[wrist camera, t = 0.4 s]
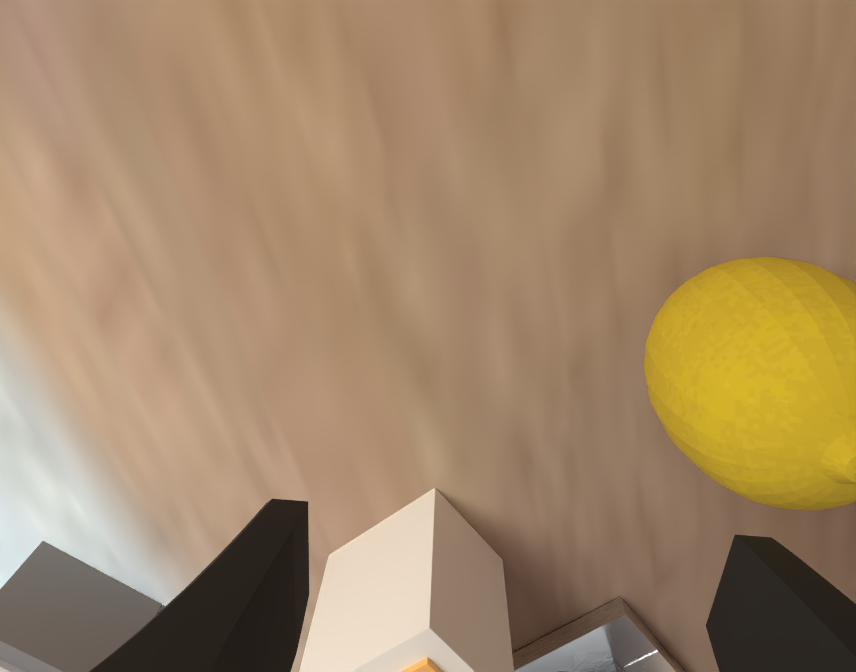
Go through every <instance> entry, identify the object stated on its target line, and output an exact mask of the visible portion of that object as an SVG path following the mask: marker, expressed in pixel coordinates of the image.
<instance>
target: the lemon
mask: <svg viewBox="0 0 856 672" xmlns="http://www.w3.org/2000/svg"><path fill="white" fill-rule="evenodd" d="M644 372H645V377H646V382H647V388H648V393H649V398H650V401H651V403H652V406H653V408H654V410H655V412H656V413H657V415H658V417H659V419H660V421H661V423H662V425H663V426H664V428H665V430H666V432H667V434H668V435H669V437H670V438H671V439H672V441H673V442H674V443H675V444H676V445H677V446H678V448H679V449H680V450H681V451H682V452H683V453H684V454H685V455H686V456H687V457H688V458H689V459H690V460H691V461H692V462H693V463H694V464H695V465H696V466H697V467H699V468H700V469H701V470H702V471H703V472H704V473H705V474H707V475H708V476H709V477H710V478H712V479H713V480H715V481H716V482H718V483H719V484H721V485H723V486H724V487H726V488H728V489H730V490H732V491H733V492H735V493H737V494H739V495H741V496H742V497H745V498H747V499H749V500H751V501H754V502H758V503H761V504H765V505H769V506H773V507H777V508H781V509H786V510H809V511H812V510H823V509H830V508H836V507H842V506H845V505H848V504H851V503H854V502H856V284H855V283H853V282H851V281H849V280H847V279H845V278H843V277H841V276H839V275H836V274H834V273H832V272H830V271H828V270H825V269H823V268H821V267H819V266H816V265H813V264H810V263H807V262H801V261H795V260H789V259H782V258H776V257H755V258H744V259H736V260H732V261H729V262H725V263H722V264H719V265H716V266H713V267H710V268H707V269H706V270H704V271H702V272H701V273H699V274H697V275H695V276H694V277H692V278H690V279H689V280H687V281H686V282H685V283H684V284H682V285H681V286H680V287H679V288H678V289H677V290H676V291H675V292H674V293H673V294H671V295H670V296H669V297H668V299H667V300H666V302H665V303H664V304H663V306H662V307H661V309H660V310H659V312H658V313H657V315H656V316H655V318H654V321H653V324H652V326H651V329H650V332H649V334H648V337H647V340H646V349H645V358H644Z"/></svg>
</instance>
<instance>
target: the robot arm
mask: <svg viewBox="0 0 856 672" xmlns="http://www.w3.org/2000/svg"><path fill="white" fill-rule="evenodd" d="M308 597H309V544H308V502H307V501H294V500H281V499H272V500H270V501H269V502H268V503H266V504H265V505H264V507H263V508H262V509H261V510H260V511H259V512H258V513H257V514H256V516H255V517H254V518H253V519H252V520H251V521H250V522H249V523H248V524H247V525H246V527H245V528H244V529H243V530H242V531H241V532H240V533H239V534H238V535H237V536H236V537H235V538H234V540H233V541H232V542H231V543H230V544H229V545H228V546H227V547H226V548H225V549H224V550H223V551H222V552H221V553H220V554H219V555H218V556H217V557H216V558H215V559H214V560H213V561H212V562H211V563H210V564H209V565H208V566H207V567H206V568H205V569H204V570H203V571H202V572H201V573H200V574H199V575H198V576H197V577H196V578H195V579H194V580H193V581H192V582H191V583H190V584H189V585H188V586H187V587H186V588H185V589H184V590H183V591H182V592H181V593H180V594H179V595H178V596H177V597H176V598H174V599H173V600H172V601H171V602H170V603H169V604H168V605H167V606H166V607H165V608H163V609H162V610H161V611H160V612H159V613H158V614H157V615H156V616H155V617H154V618H152V619H151V620H150V621H149V622H148V623H147V624H146V625H145V626H144V627H142V628H141V629H140V630H139V631H138V632H137V633H136V634H134V635H133V636H132V637H131V638H130V639H128V640H127V641H126V642H125V643H124V644H123V645H121V646H120V647H119V648H118V649H116V650H115V651H114V652H113V653H112V654H110V655H109V656H108V657H107V658H105V659H104V660H103V661H102V662H100V663H99V664H98V665H97V666H95V667H94V668H93V669H91V670H90V671H89V672H290V671H291V668H292V665H293V662H294V659H295V656H296V652H297V648H298V643H299V639H300V634H301V630H302V625H303V621H304V616H305V611H306V606H307V602H308ZM706 627H707V631H708V634H709V638H710V641H711V645H712V648H713V652H714V655H715V659H716V662H717V665H718V668H719V671H720V672H856V604H855V603H854V602H852V601H851V600H850V599H849V598H848V597H846V596H845V595H844V594H843V593H841V592H840V591H839V590H838V589H836V588H835V587H834V586H833V585H832V584H830V583H829V582H828V581H827V580H825V579H824V578H823V577H822V576H820V575H819V574H818V573H817V572H816V571H814V570H813V569H812V568H811V567H809V566H808V565H807V564H806V563H804V562H803V561H802V560H801V559H799V558H798V557H797V556H795V555H794V554H793V553H792V552H790V551H789V550H788V549H786V548H785V547H784V546H782V545H781V544H780V543H778V542H777V541H776V540H774V539H773V538H770V537H758V536H745V535H735V536H734V539H733V542H732V545H731V549H730V552H729V555H728V558H727V561H726V564H725V567H724V571H723V574H722V577H721V580H720V583H719V586H718V589H717V593H716V596H715V599H714V602H713V605H712V608H711V611H710V614H709V618H708V621H707V624H706Z"/></svg>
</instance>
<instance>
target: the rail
mask: <svg viewBox="0 0 856 672" xmlns="http://www.w3.org/2000/svg"><path fill="white" fill-rule="evenodd" d="M512 657H513V667H514V672H685V671H684V669H683V668H682V667H681V666H680V665H679V664H678V663H677V661H676V660H675V659H674V658H673V657H672V656H671V655H670V653H669V652H668V651H667V650H666V649H665V648H664V647H663V645H662V644H661V643H660V642H659V641H658V640H657V639H656V637H655V636H654V635H653V634H652V633H651V632H650V631H649V629H648V628H647V627H646V626H645V625H644V624H643V623H642V621H641V620H640V619H639V618H638V617H637V616H636V615H635V613H634V612H633V611H632V610H631V609H630V608H629V607H628V605H627V604H626V603H625V602H624V601H623V600H622V599H621V597H619V598H617V599H615V600H613V601H611V602H609V603H607V604H606V605H604V606H602V607H600V608H598V609H596V610H594V611H592V612H590V613H588V614H586V615H584V616H583V617H581V618H579V619H577V620H575V621H573V622H571V623H569V624H567V625H565V626H563V627H561V628H560V629H558V630H556V631H554V632H552V633H550V634H548V635H546V636H544V637H542V638H540V639H538V640H537V641H535V642H533V643H531V644H529V645H527V646H525V647H523V648H521V649H519V650H517V651H515V652H514V653H512Z"/></svg>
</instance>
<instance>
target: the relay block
mask: <svg viewBox="0 0 856 672" xmlns="http://www.w3.org/2000/svg"><path fill="white" fill-rule="evenodd" d="M161 605H162V604H161V603H159V602H157V601H155V600H153V599H151V598H149V597H148V596H146V595H144V594H142V593H140V592H138V591H136V590H134V589H132V588H131V587H129V586H127V585H125V584H123V583H121V582H119V581H117V580H115V579H114V578H112V577H110V576H108V575H106V574H104V573H102V572H100V571H99V570H97V569H95V568H93V567H91V566H89V565H87V564H85V563H83V562H82V561H80V560H78V559H76V558H74V557H72V556H70V555H68V554H67V553H65V552H63V551H61V550H59V549H57V548H55V547H53V546H51V545H50V544H48V543H46V542H44V541H42V543H41V544H40V545H39V546H38V547H37V548H36V549H35V551H34V552H33V553H32V554H31V555H30V556H29V557H28V558H27V560H26V561H25V562H24V563H23V564H22V565H21V566H20V568H19V569H18V570H17V571H16V572H15V573H14V574H13V576H12V577H11V578H10V579H9V580H8V581H7V582H6V584H5V585H4V586H3V587H2V588H1V589H0V672H89V671H90V670H91V669H93V668H94V667H95V666H97V665H98V664H99V663H100V662H102V661H103V660H104V659H105V658H107V657H108V656H109V655H110V654H112V653H113V652H114V651H115V650H116V649H118V648H119V647H120V646H121V645H123V644H124V643H125V642H126V641H127V640H128V639H130V638H131V637H132V636H133V635H134V634H136V633H137V632H138V631H139V630H140V629H141V628H142V627H144V626H145V625H146V624H147V623H148V622H149V621H150V620H151V619H152V618H154V617H155V616H156V614H157V612H158V610H159V608H160V607H161Z"/></svg>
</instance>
